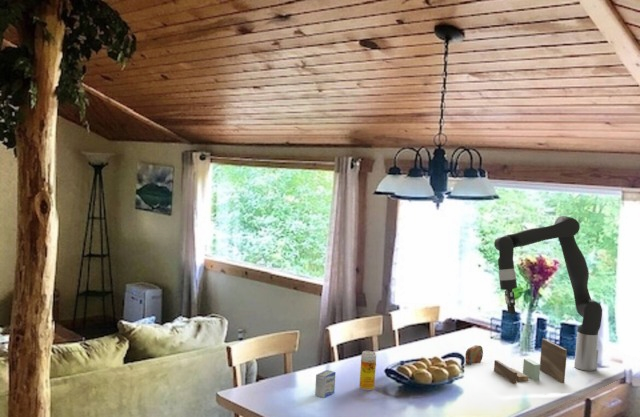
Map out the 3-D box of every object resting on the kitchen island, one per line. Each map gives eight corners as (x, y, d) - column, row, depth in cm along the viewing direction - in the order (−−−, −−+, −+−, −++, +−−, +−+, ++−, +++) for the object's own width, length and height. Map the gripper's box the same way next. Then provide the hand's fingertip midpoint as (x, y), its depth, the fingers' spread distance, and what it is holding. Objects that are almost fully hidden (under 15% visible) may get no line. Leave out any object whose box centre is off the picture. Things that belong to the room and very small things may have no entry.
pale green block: (528, 376, 305) (529, 358, 305) (539, 382, 296) (540, 364, 296) (522, 376, 305) (523, 358, 304) (532, 382, 296) (534, 364, 295)
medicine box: (324, 398, 261) (325, 376, 260) (314, 395, 263) (315, 374, 262) (334, 393, 267) (336, 371, 267) (325, 390, 270) (326, 369, 269)
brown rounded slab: (469, 368, 312) (470, 350, 312) (463, 366, 314) (464, 348, 314) (482, 361, 324) (484, 344, 324) (476, 360, 326) (478, 343, 326)
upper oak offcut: (511, 372, 305) (511, 367, 305) (528, 380, 294) (528, 376, 294) (502, 372, 303) (502, 368, 303) (518, 381, 292) (518, 376, 292)
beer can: (364, 391, 271) (366, 355, 270) (356, 386, 276) (358, 351, 275) (377, 390, 274) (379, 354, 273) (369, 385, 279) (371, 349, 278)
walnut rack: (542, 372, 312) (545, 338, 311) (564, 385, 294) (567, 349, 293) (493, 373, 306) (496, 338, 305) (512, 386, 289) (515, 349, 288)
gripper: (518, 278, 306) (522, 314, 305) (513, 277, 320) (517, 311, 319) (501, 280, 307) (505, 315, 306) (497, 279, 321) (501, 313, 320)
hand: (511, 313), depth 312 cm, fingers open, 8 cm apart
